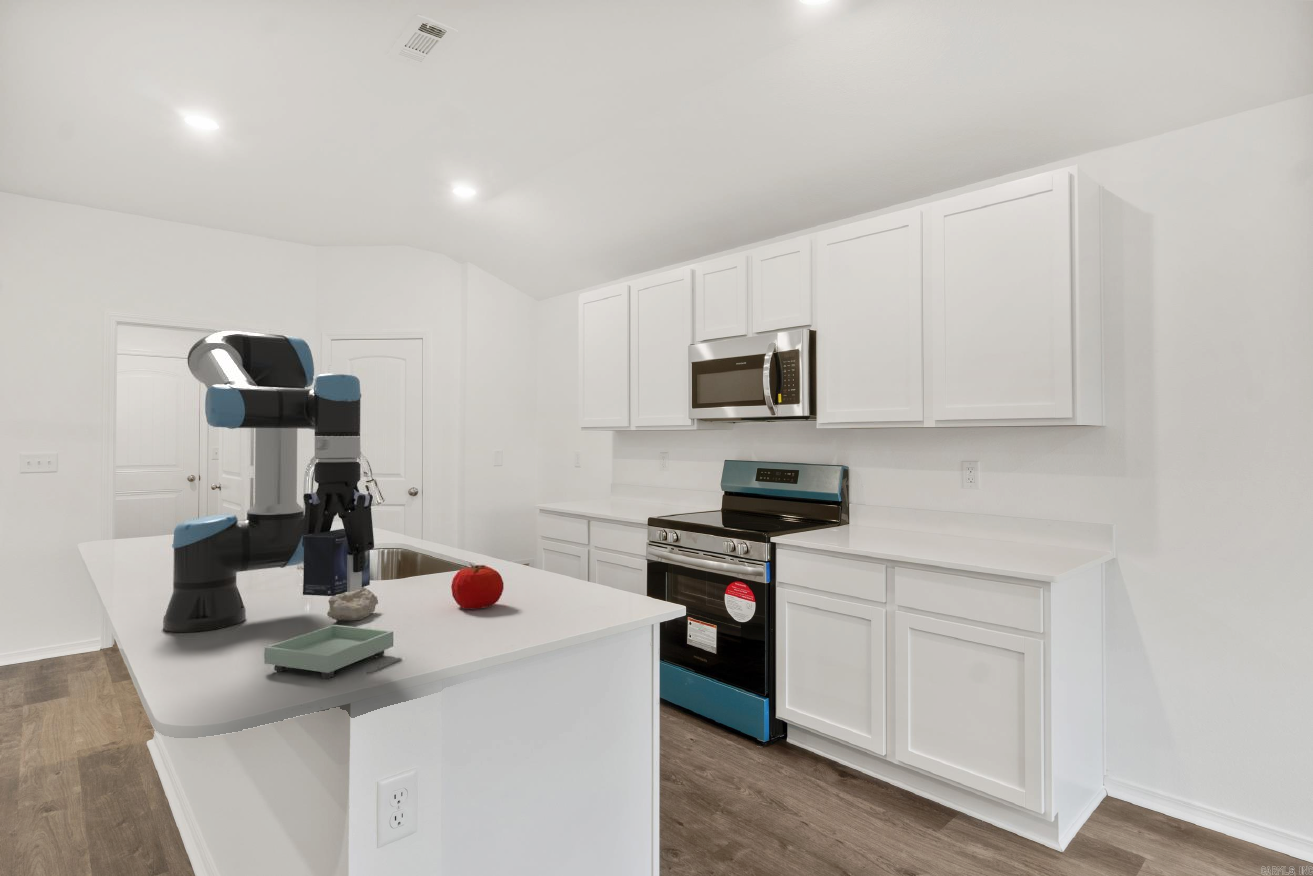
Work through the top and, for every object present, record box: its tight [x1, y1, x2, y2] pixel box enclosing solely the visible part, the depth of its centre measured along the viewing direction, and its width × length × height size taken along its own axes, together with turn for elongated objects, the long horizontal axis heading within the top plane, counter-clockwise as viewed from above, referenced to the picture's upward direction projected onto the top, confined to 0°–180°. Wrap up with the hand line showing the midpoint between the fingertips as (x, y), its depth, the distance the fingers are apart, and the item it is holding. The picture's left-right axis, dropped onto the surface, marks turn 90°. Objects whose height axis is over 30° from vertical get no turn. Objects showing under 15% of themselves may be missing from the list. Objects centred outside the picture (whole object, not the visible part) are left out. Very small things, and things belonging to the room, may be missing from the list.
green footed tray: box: [263, 624, 394, 680], centre depth 123 cm, size 14×15×4 cm
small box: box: [302, 528, 371, 597], centre depth 122 cm, size 11×6×10 cm, turn 168°
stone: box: [326, 586, 379, 622], centre depth 154 cm, size 8×12×10 cm, turn 173°
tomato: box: [450, 562, 505, 610], centre depth 164 cm, size 11×13×10 cm
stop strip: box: [366, 657, 403, 674], centre depth 121 cm, size 1×8×1 cm, turn 161°
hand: (337, 588), depth 122 cm, fingers closed on small box, 7 cm apart
